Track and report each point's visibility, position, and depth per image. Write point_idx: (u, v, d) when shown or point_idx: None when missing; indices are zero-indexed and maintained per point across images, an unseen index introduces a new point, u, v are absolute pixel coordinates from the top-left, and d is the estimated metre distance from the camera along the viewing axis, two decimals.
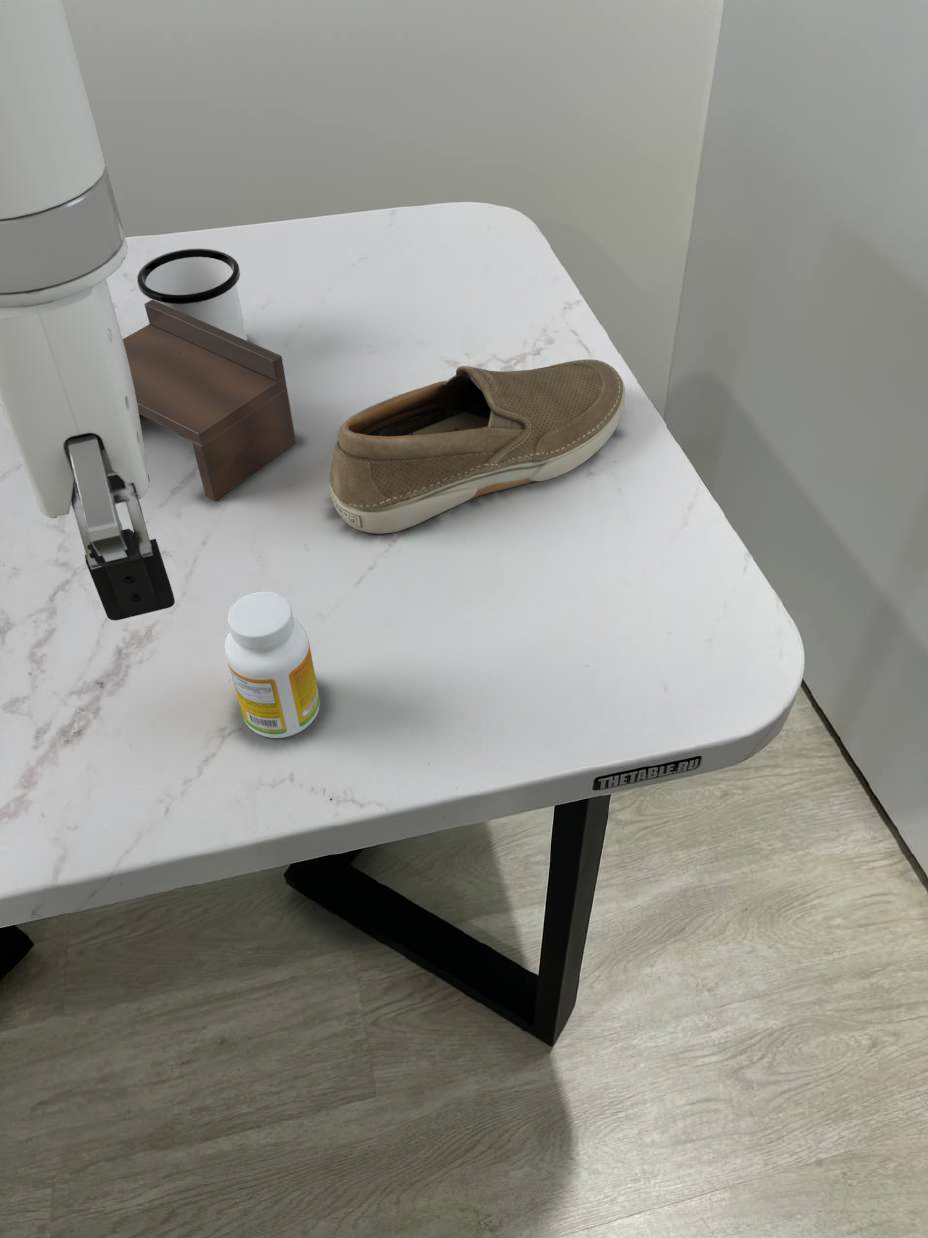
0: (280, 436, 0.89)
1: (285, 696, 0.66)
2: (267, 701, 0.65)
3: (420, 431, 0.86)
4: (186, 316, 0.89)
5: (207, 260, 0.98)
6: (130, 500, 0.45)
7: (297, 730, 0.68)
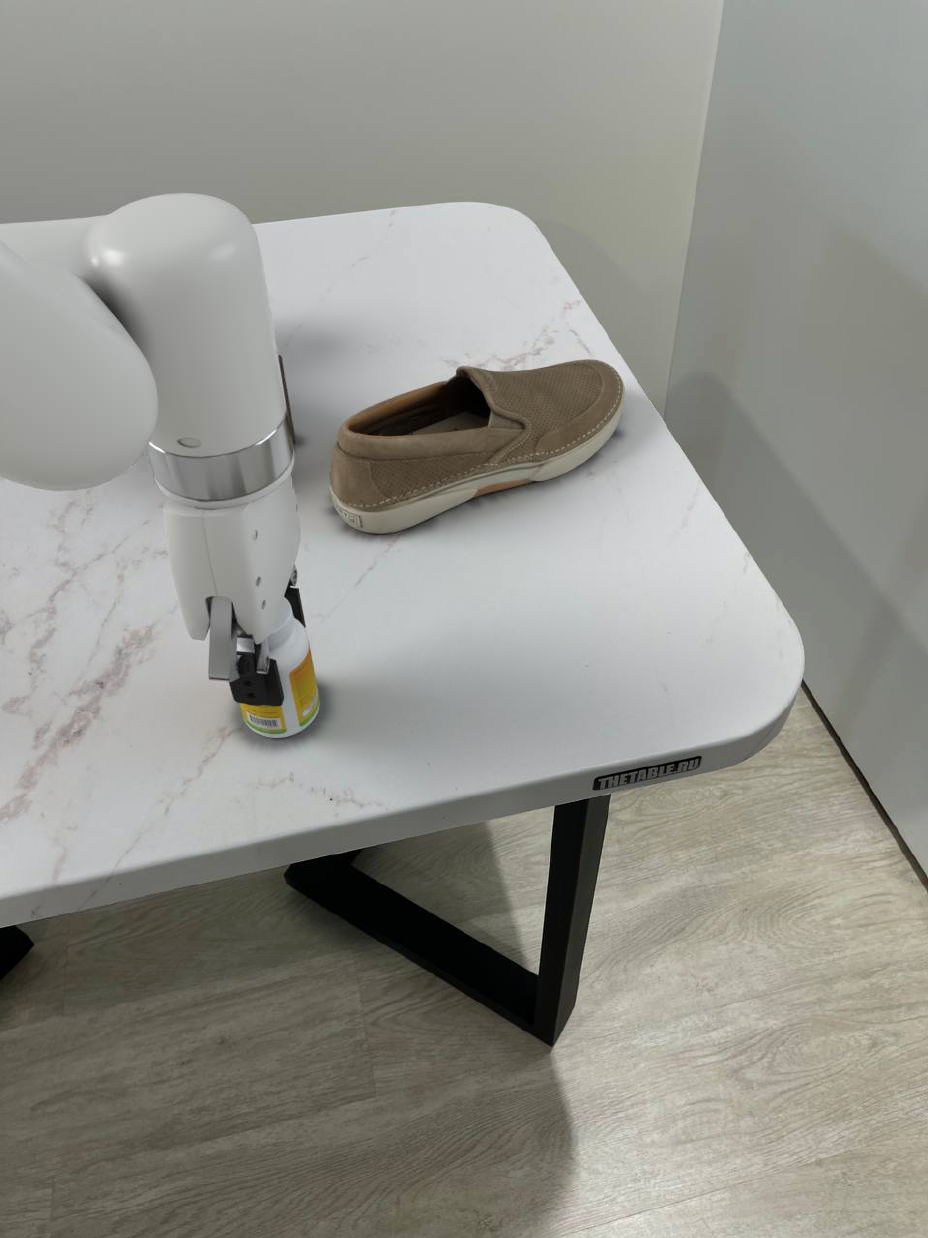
0: None
1: (286, 696, 0.66)
2: None
3: (420, 431, 0.86)
4: None
5: None
6: None
7: (297, 730, 0.68)
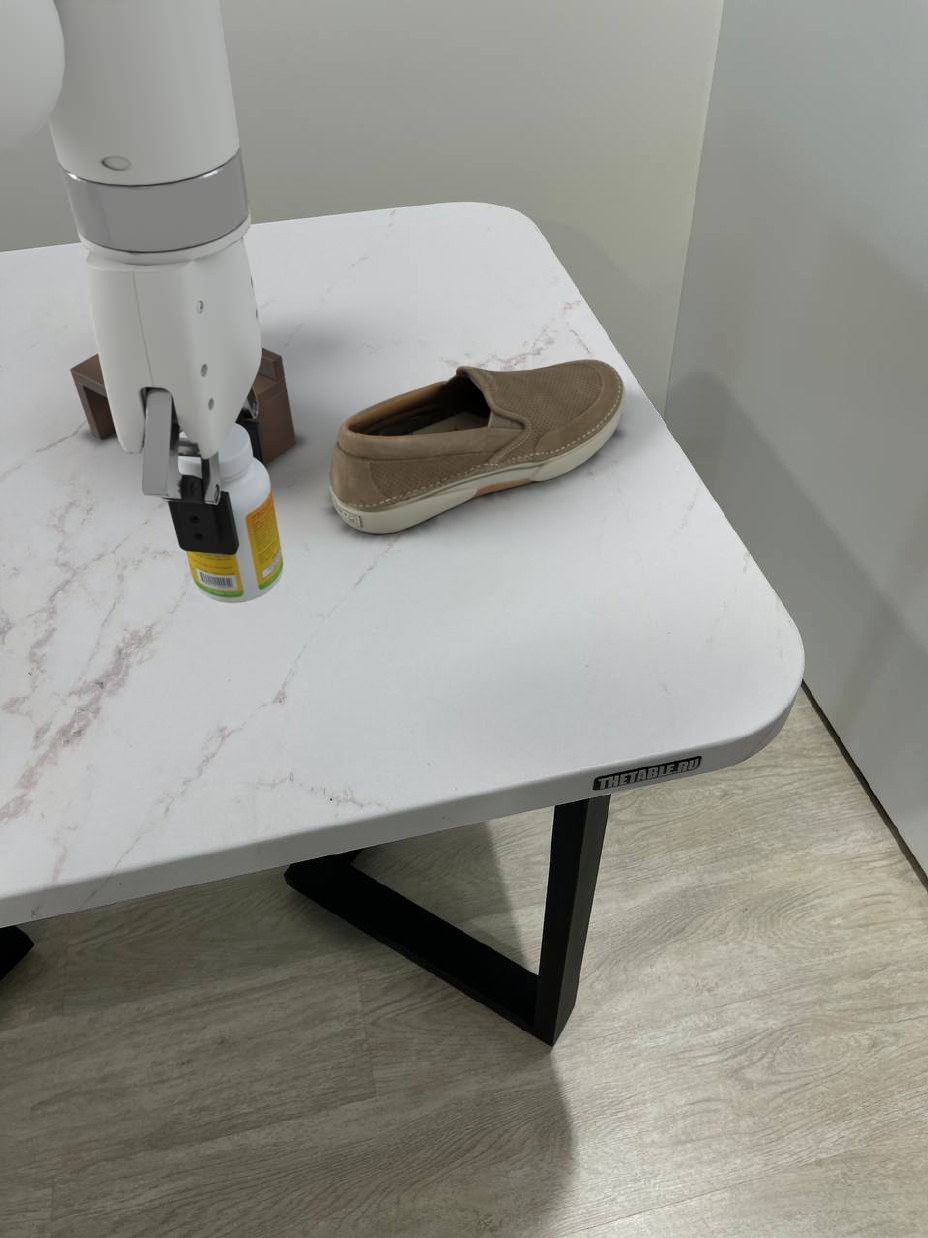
0: (280, 436, 0.89)
1: (242, 546, 0.56)
2: None
3: (420, 431, 0.86)
4: None
5: None
6: (204, 458, 0.50)
7: (256, 594, 0.59)
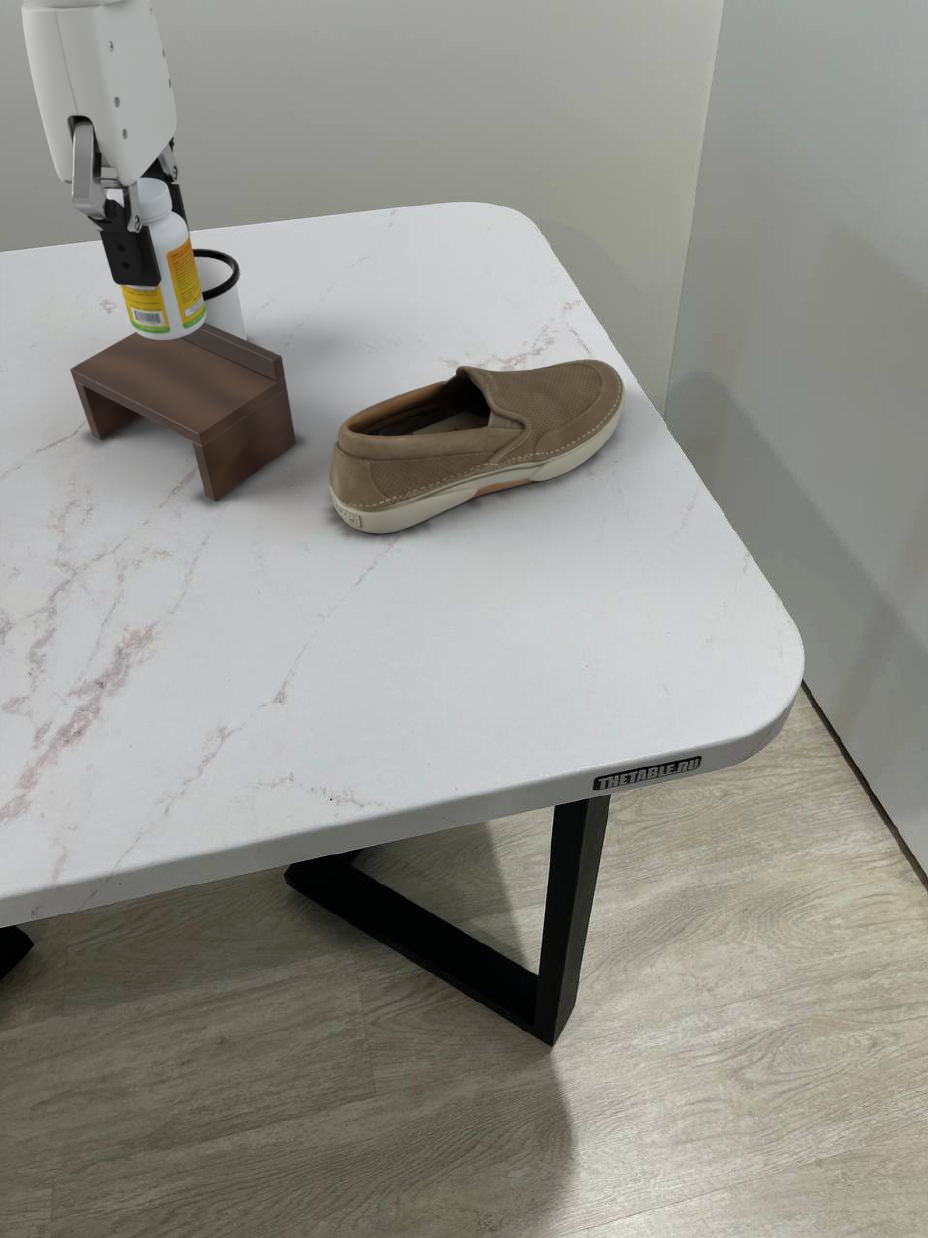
0: (280, 436, 0.89)
1: (165, 283, 0.69)
2: (147, 286, 0.69)
3: (420, 431, 0.86)
4: None
5: (207, 260, 0.98)
6: (125, 189, 0.63)
7: (181, 332, 0.72)
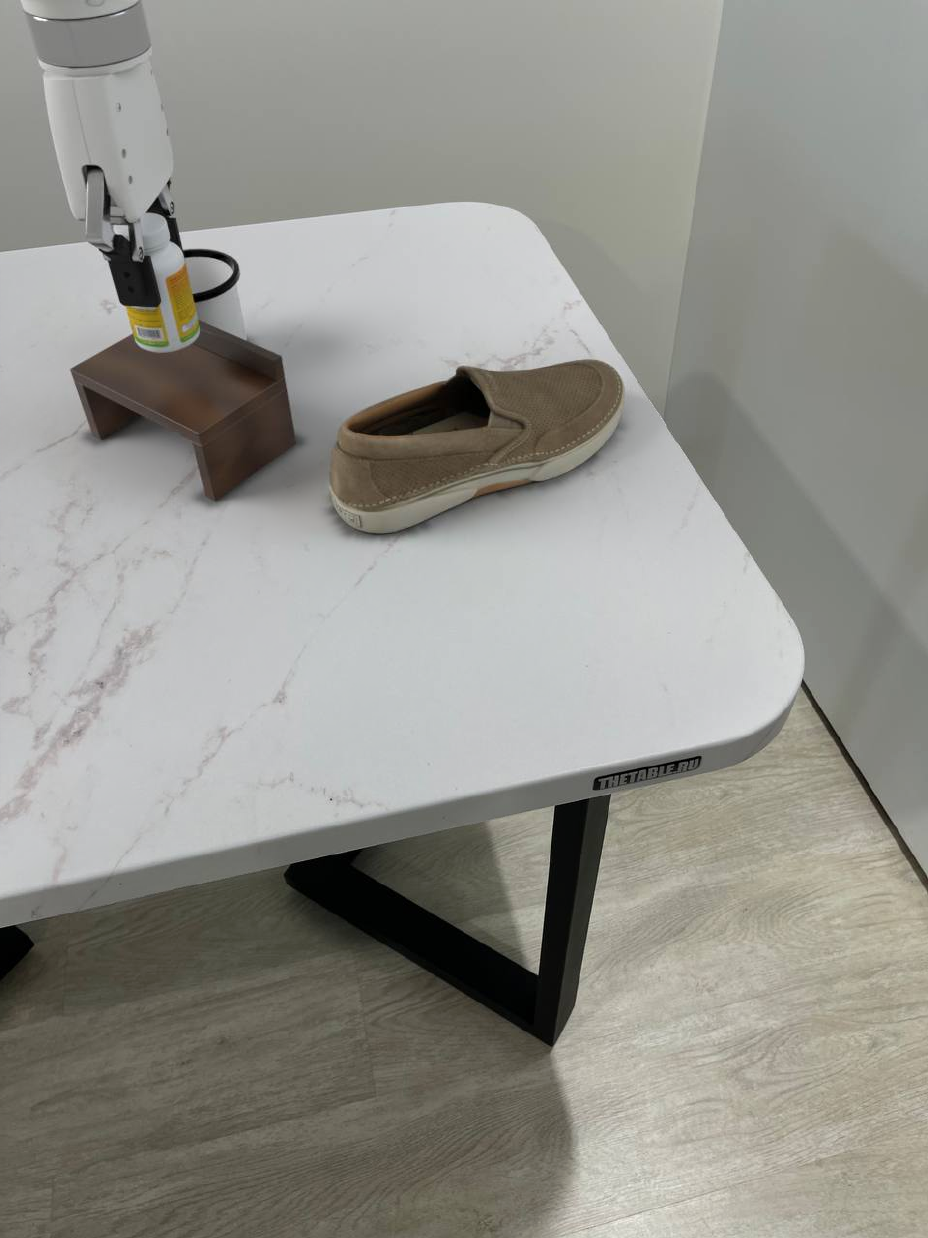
0: (280, 436, 0.89)
1: (165, 303, 0.79)
2: None
3: (420, 431, 0.86)
4: None
5: (207, 260, 0.98)
6: (130, 225, 0.73)
7: (178, 345, 0.82)
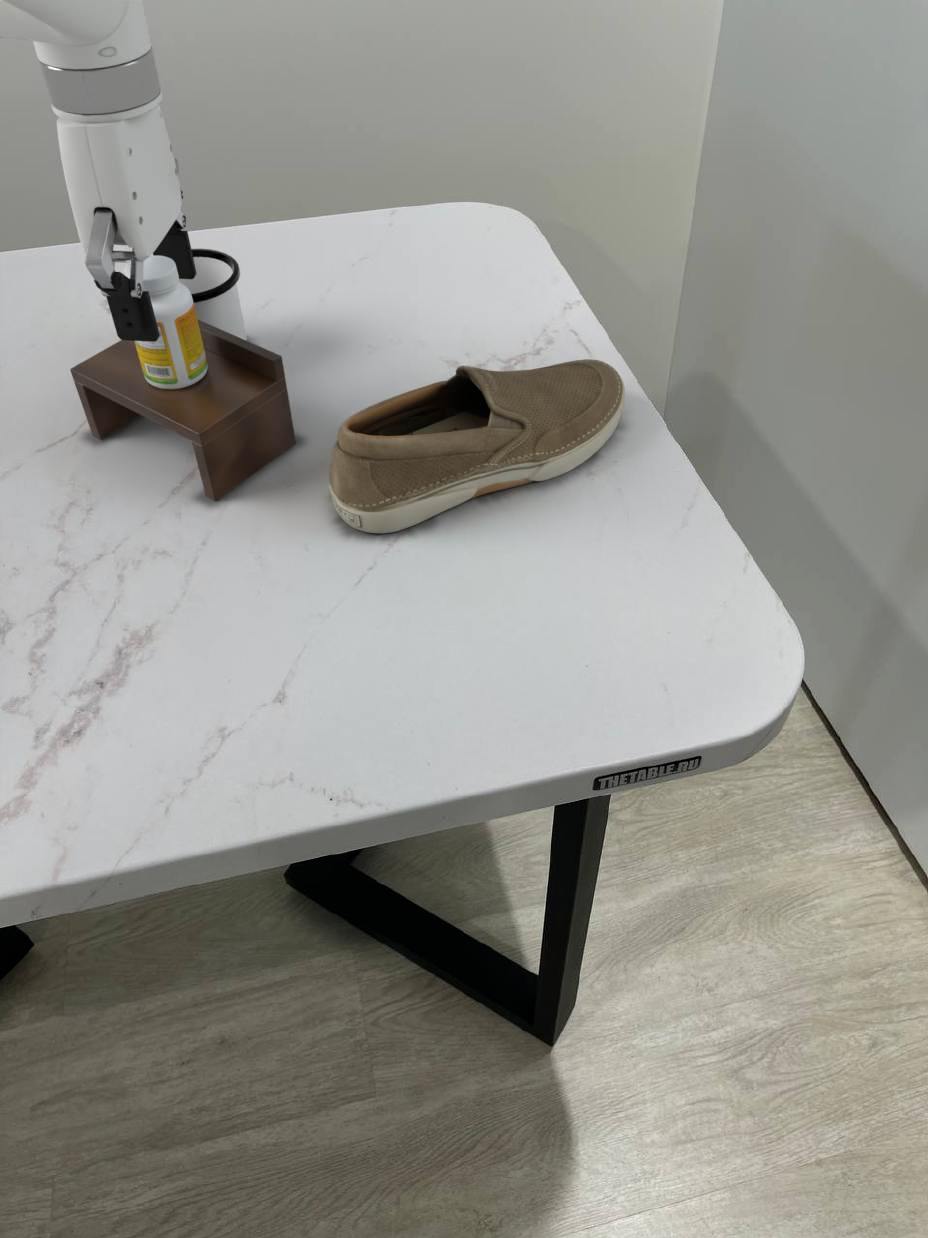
0: (280, 436, 0.89)
1: (174, 343, 0.82)
2: (158, 346, 0.82)
3: (420, 431, 0.86)
4: None
5: (207, 260, 0.98)
6: (133, 259, 0.74)
7: (187, 382, 0.85)
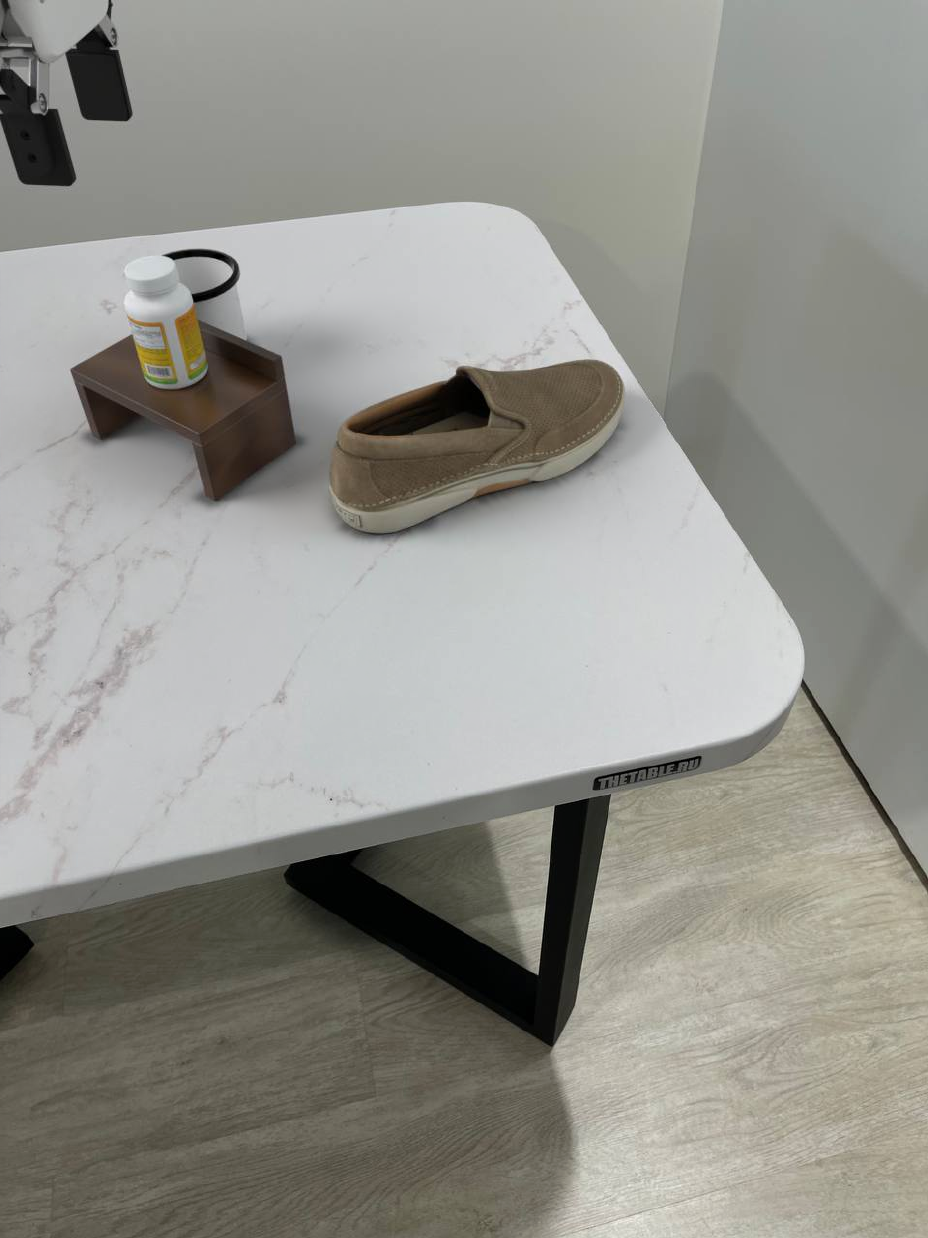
0: (280, 436, 0.89)
1: (173, 343, 0.82)
2: (158, 346, 0.82)
3: (420, 431, 0.86)
4: None
5: (207, 260, 0.98)
6: (33, 58, 0.53)
7: (187, 382, 0.85)
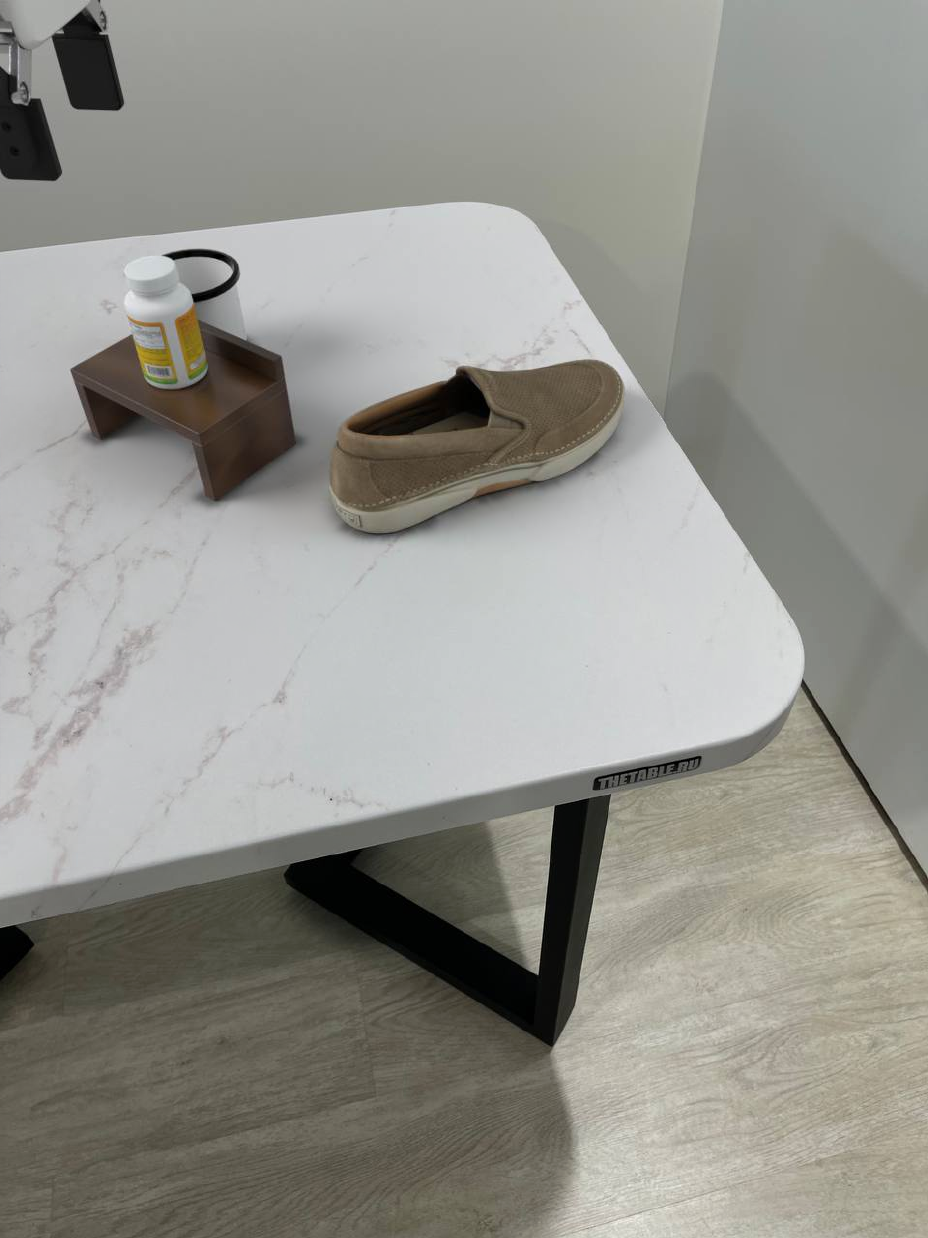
0: (280, 436, 0.89)
1: (173, 343, 0.82)
2: (158, 346, 0.82)
3: (420, 431, 0.86)
4: None
5: (207, 260, 0.98)
6: (13, 44, 0.50)
7: (187, 382, 0.85)
